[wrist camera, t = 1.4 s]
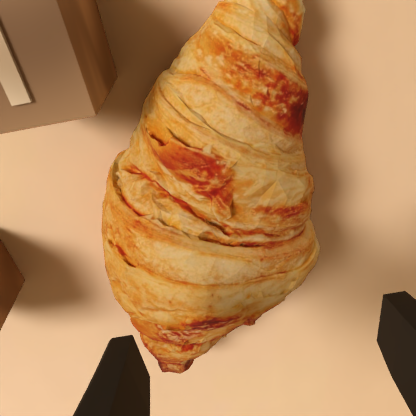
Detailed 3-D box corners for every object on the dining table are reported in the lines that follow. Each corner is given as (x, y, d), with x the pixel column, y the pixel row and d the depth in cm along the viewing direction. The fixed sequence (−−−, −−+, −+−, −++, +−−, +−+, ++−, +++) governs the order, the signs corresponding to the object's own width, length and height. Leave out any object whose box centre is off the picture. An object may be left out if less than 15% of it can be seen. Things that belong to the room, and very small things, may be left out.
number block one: (117, 76, 16) (95, 117, 12) (26, 93, 16) (-30, 140, 12) (84, -40, 14) (40, -42, 9) (-22, -19, 14) (-113, -11, 10)
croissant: (188, -51, 17) (56, -102, 10) (428, -1, 14) (463, -23, 7) (138, 297, 27) (58, 384, 21) (269, 362, 25) (225, 486, 18)
